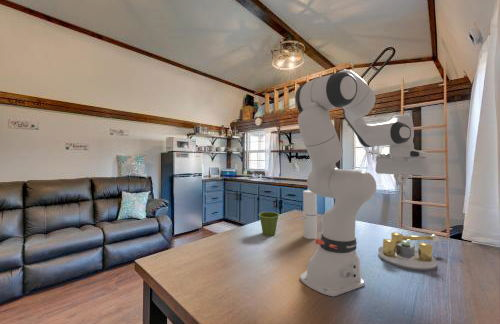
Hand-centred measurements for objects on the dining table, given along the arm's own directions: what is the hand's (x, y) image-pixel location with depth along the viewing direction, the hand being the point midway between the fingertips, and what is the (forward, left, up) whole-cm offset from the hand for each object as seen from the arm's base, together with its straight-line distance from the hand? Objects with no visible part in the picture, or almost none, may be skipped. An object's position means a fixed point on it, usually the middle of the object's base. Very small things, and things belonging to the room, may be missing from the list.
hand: (401, 185), depth 97 cm
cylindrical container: (-12, +40, -31) cm, 52 cm away
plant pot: (-27, +57, -31) cm, 70 cm away
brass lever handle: (+9, -2, -29) cm, 30 cm away
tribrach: (-2, -2, -31) cm, 31 cm away
